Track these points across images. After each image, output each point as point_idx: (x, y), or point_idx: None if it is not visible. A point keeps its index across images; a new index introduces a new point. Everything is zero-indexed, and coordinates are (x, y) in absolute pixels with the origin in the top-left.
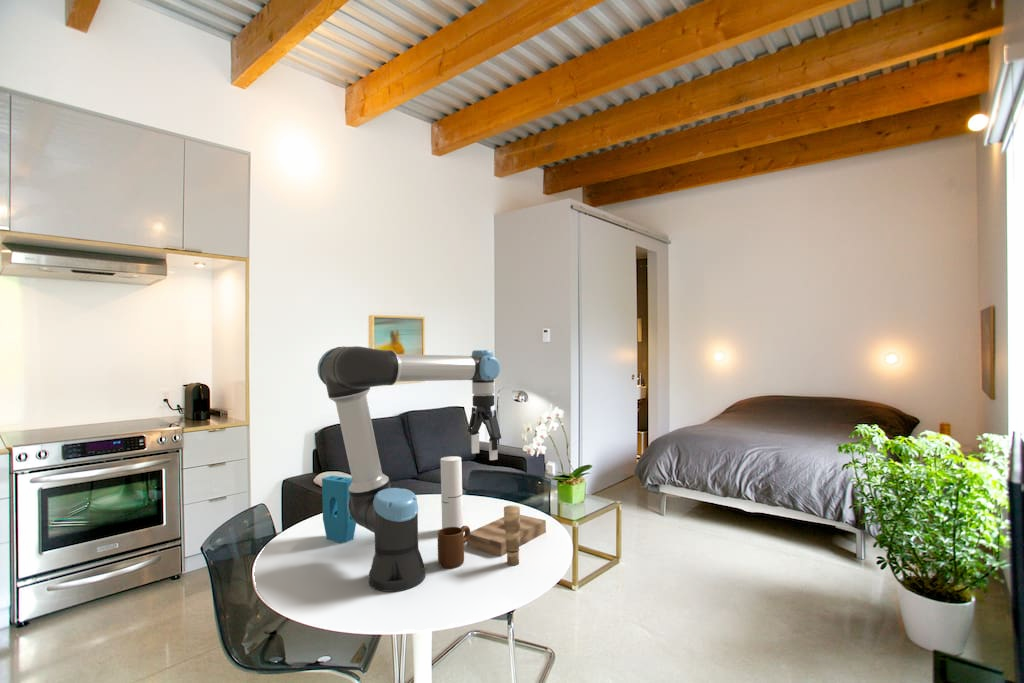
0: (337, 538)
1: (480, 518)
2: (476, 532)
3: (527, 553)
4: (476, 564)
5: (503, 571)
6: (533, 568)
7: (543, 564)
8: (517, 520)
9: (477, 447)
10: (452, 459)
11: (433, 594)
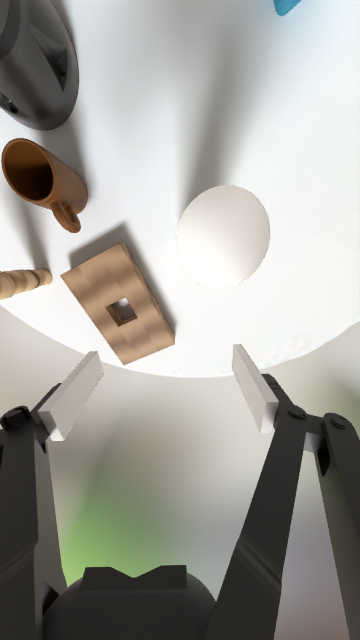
0: None
1: (224, 309)
2: (116, 260)
3: (70, 306)
4: (54, 228)
5: (21, 253)
6: None
7: (31, 307)
8: None
9: (238, 376)
10: (199, 240)
11: None
